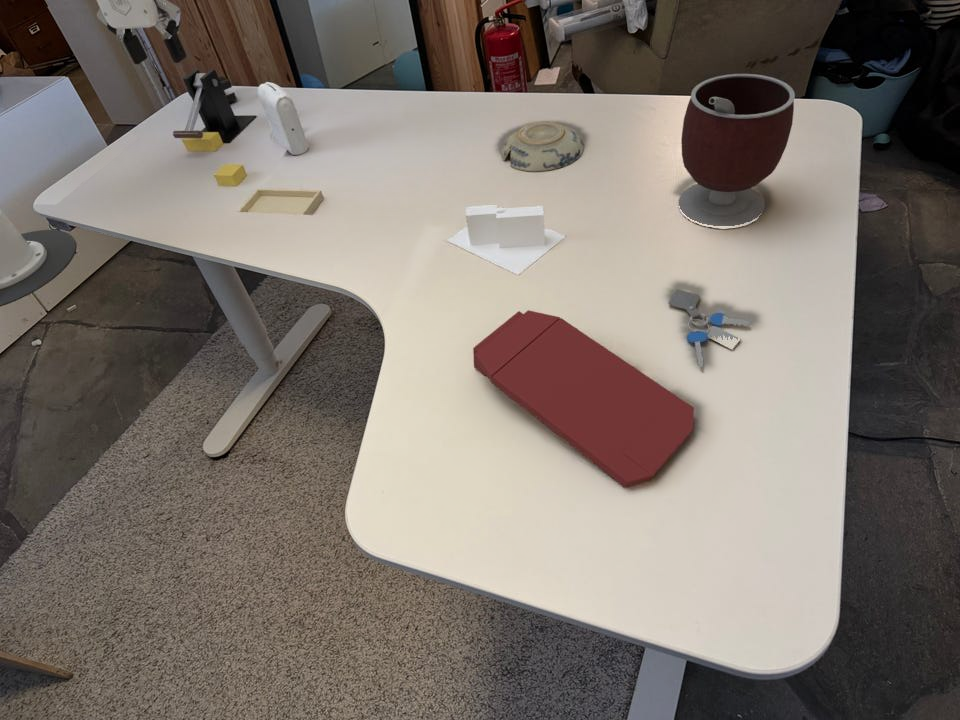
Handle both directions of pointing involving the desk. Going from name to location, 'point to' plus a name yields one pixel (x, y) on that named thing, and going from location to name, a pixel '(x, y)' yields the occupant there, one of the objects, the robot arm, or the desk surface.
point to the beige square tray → (283, 201)
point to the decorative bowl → (542, 147)
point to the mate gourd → (733, 145)
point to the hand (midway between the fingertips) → (160, 60)
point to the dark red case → (586, 395)
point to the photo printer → (282, 118)
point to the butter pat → (230, 175)
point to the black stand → (217, 107)
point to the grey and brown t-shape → (193, 112)
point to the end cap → (226, 85)
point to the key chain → (718, 319)
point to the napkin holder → (506, 235)
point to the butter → (204, 142)
